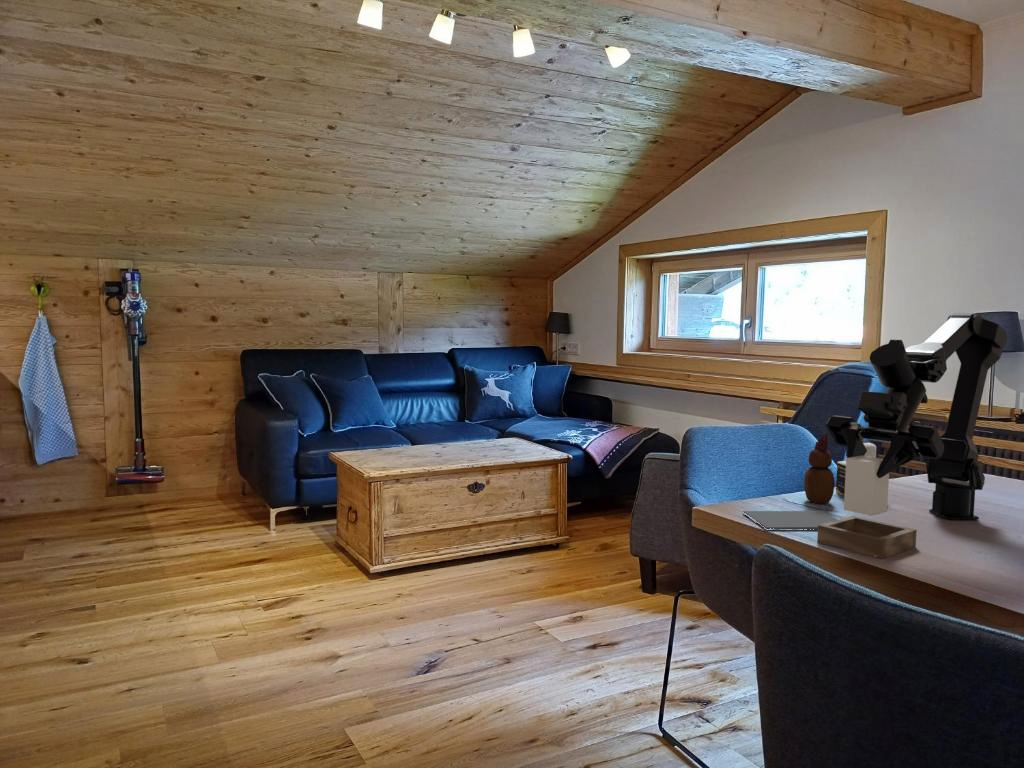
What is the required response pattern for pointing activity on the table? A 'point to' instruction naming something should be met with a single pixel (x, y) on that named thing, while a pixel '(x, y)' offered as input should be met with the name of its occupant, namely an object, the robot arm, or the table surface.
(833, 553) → the table surface
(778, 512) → the slate mat
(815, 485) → the wooden figurine
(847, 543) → the wooden tray
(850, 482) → the white block
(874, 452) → the medicine bottle
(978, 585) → the table surface
